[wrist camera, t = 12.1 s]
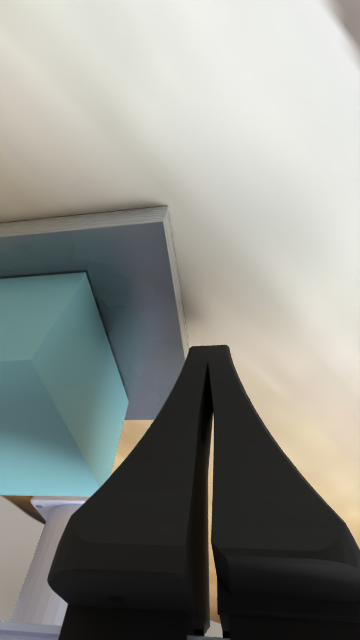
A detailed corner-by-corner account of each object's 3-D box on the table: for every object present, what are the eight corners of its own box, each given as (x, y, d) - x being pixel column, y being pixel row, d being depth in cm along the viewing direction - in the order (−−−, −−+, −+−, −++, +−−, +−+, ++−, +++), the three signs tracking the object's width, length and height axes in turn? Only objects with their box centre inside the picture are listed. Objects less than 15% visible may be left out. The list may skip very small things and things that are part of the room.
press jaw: (128, 401, 16) (105, 496, 12) (31, 404, 16) (-18, 494, 13) (85, 272, 12) (31, 359, 8) (-43, 282, 12) (-144, 367, 9)
